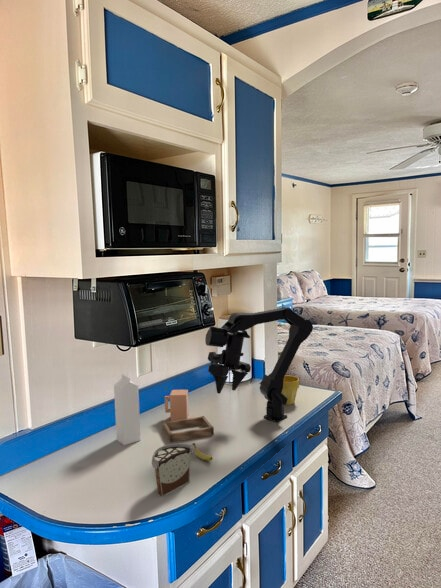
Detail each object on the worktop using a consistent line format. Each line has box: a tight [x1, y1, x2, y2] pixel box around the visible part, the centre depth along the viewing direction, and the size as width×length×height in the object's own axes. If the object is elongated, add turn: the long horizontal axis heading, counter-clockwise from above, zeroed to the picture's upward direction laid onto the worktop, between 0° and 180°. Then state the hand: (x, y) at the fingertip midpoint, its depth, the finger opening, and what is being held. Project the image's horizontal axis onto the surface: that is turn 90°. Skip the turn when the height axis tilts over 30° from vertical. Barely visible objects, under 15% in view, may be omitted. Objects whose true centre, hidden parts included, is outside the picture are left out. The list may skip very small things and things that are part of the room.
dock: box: [162, 415, 215, 443], centre depth 151 cm, size 15×11×2 cm
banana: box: [191, 442, 213, 462], centre depth 131 cm, size 8×2×4 cm, turn 47°
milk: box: [113, 373, 142, 446], centre depth 144 cm, size 6×6×22 cm
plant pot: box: [282, 375, 300, 406], centre depth 178 cm, size 10×10×10 cm
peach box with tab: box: [164, 389, 190, 421], centre depth 163 cm, size 8×6×10 cm
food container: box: [151, 443, 193, 498], centre depth 117 cm, size 12×6×10 cm, turn 136°
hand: (226, 391), depth 155 cm, fingers open, 9 cm apart
